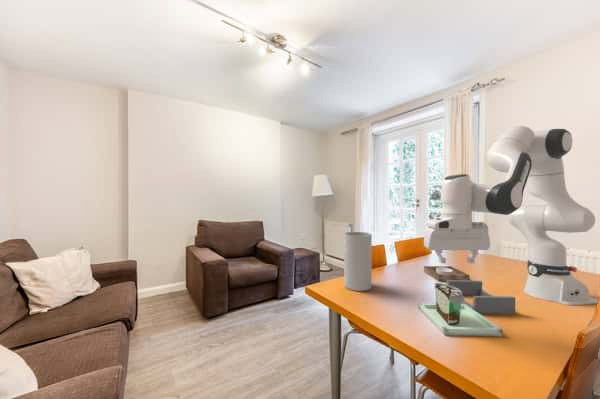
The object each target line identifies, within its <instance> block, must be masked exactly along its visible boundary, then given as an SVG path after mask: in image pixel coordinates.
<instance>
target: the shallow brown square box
mask: <svg viewBox="0 0 600 399" xmlns="http://www.w3.org/2000/svg"><path fill="white" fill-rule="evenodd" d="M438 267H443V268H448V269H451V270H453V272H452V274H438V273H437V272H436V268H438ZM423 272H424V273H425V274H426V275H428V276H429V277H431V278H432V279H433V280H435V281H437V283H438V282H439V283H447V280H465V281H471V279H470V278H471V276H470V274H468V273H466V272H464V271H462V270H460V269H457V268H455V267H453V265H452V266H447V265H446V266H445V265H444V266H443V265H442V266H441V265H440V266H439V265H438V266H437V265H424V266H423Z"/></svg>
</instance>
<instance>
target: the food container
mask: <svg viewBox="0 0 600 399" xmlns="http://www.w3.org/2000/svg"><path fill="white" fill-rule="evenodd" d="M434 289H435V304H436V312H437V313H438V314H439V315H440V316H441V317H442V319H443V320H444V321H445V322H446V323H447V324H448V325H457V324H459V320H460V310H461V302H462V301H463V300H465V299H464V295H463V294H462V292H461V290H459V289H458V288H456V287H453V286H450V285H447V283H446V284H445V283H442V282H439V283H438V282H434Z"/></svg>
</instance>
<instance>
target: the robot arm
mask: <svg viewBox="0 0 600 399" xmlns="http://www.w3.org/2000/svg"><path fill="white" fill-rule="evenodd" d="M572 145H573V136H572V134H571V132H570V131H569V130H567V129H566V128H552V129H548V130H547V129H546V130H537V131H533V130H532V129H531V128H530V127H527V126H522V125H518V126H517V125H516V126H513V127H511V128H509V129H507V130H506V131H505V132H503V133H501V135H500V136H499V137H498V138H497V139H496V140H495V141H494V142H493V143H492V145H491V146H490V148H489V149H488V150H487V153H486V156H485V157H486V162H487V163H488V165H489V166H490V167H491V168H492V169H493V170H496V171H498V172H500V173H507V175H506V177H505V179H504V180H503V181H500V182H495V183H476V182H474V181H472V180H471V178H470V177H471V176H470V174H468V173H467V174H465V173H460V174H453V175H448V176H446V177H444V178H443V180H442V183H441V188H440V190H441V191H440V202H441V211H440V216H438V217H435V218H431V219H428V220H426V222H425V225H426V228H425V231H424V236H423V246H424V248H425V249H426V250H429V251H434V252H435V254H436V256H437V258H438V263H439V264H446V263H447V260H446V257H444V256H443V255H442V254H443V251H469V254H470V255H469V256H467V257H466V262H467V263H468V264H475V260H476V257H477V256H478V255H479V251H488V250H489V249H490V247H491V241H490V235H489V226H488V225H487V223H485V222H483V221H480V222H479V221H478V222H476V221H473V213H474V212H476V213H486V214H487V213H489V214H490V213H491V214H495V215H497V214H498V215H503V216H507V220H508V222H509V224H510V225H512V226H513V227H514V228H516V229H517V230H518V231H519V232H521V234H522V235H523V237H524V238H525V240H526V242H527V247H528V260H527V262H526V264H527V267H526V268H527V276H526V281H525V285H524V288H523V292H524V293H525V294H527V295H528V296H531V297H534V298H536V299H540V300H543V301H547V302H548V301H549V302H552V303H558V304H562V305H565V306H581V305H583V306H584V305H593V304H598V303H597V301H598V302H599V300H598V298H597V299H596V298H595V297H593V296H591V295H590V292H589V291H590V290H589V288H588V286H587V284H585V283H583V282H582V281H581V280H579V279H577V278H576V277H575V276H573V275H572V273H571V272H573V273H577V271H578V268H577V267H576V266H572V265H570V266H568V265H567V248H566V246H565V245H564V244H563V243H562V242H560V241H558V240H556V239H555V238H554V239H553V238H551V237H550V236H549V235H548V234H547V232H556V233H557V232H558V233H568V234H570V233H573V234H574V233H586V232H589V231H590V230H591V229H593V227H594V225H595V223H596V216H595V214H594V213H593V211H592V210H590V209H589V208H587V207H586V206H583V205H582V204H580V203H578V202H576V201H575V200H574V199H573V197H571V196H570V194H569V192H568V191H567V186H566V180H565V168H564V167H565V166H564V161H563V156H565V155H567V154H568V153H569V152H570V151H571V149H572V147H573V146H572ZM525 188H526V190H527V192H528V193H529V194H530V195H531V196H532V197H535V198H538V199H541V200H542V201H544V202H545V203H546V205H543V204H522V203H523V196H524V190H525Z"/></svg>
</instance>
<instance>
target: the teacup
mask: <svg viewBox="0 0 600 399" xmlns="http://www.w3.org/2000/svg"><path fill="white" fill-rule="evenodd" d="M436 272H437V273H438V274H452V272H453V270H451V269H448V268H443V267H438V268H436Z"/></svg>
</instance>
